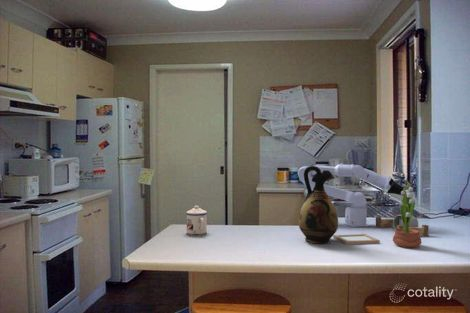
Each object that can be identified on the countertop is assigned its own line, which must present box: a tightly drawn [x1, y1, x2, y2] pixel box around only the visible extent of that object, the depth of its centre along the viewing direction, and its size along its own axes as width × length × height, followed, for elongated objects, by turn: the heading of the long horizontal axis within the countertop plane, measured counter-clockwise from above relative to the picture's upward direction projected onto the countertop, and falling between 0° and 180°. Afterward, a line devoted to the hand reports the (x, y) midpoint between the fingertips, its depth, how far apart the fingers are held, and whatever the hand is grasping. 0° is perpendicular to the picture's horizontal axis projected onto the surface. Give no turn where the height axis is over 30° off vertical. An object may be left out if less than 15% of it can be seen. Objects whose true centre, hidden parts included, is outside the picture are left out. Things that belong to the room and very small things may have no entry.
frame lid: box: [332, 233, 380, 246], centre depth 153 cm, size 14×11×1 cm
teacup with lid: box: [185, 205, 208, 235], centre depth 165 cm, size 12×9×12 cm
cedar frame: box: [375, 216, 429, 237], centre depth 172 cm, size 13×21×4 cm, turn 5°
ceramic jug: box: [297, 165, 339, 245], centre depth 152 cm, size 17×15×30 cm
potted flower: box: [392, 180, 422, 249], centre depth 145 cm, size 12×10×25 cm
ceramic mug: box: [392, 214, 419, 230], centre depth 172 cm, size 11×8×8 cm
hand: (404, 192), depth 179 cm, fingers open, 7 cm apart
